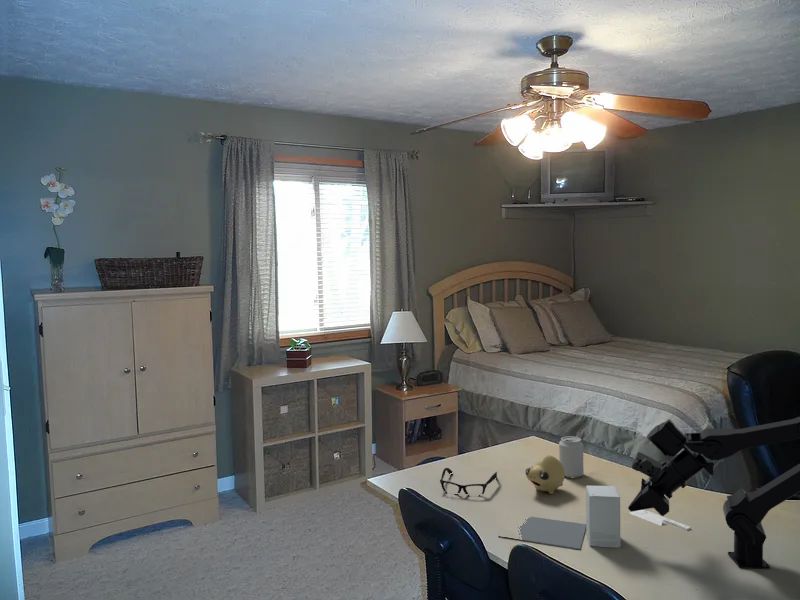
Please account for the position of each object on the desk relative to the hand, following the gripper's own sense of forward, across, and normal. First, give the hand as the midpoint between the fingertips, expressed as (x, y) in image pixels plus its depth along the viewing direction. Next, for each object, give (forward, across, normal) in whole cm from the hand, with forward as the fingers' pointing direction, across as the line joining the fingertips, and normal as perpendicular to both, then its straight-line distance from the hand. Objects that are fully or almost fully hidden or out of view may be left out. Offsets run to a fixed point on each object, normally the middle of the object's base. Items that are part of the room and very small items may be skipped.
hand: (629, 509), depth 145 cm
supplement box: (+11, 0, +2) cm, 11 cm away
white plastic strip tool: (+2, -16, +11) cm, 19 cm away
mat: (+21, 0, -9) cm, 23 cm away
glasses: (+40, -24, -27) cm, 54 cm away
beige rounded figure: (+24, -27, -11) cm, 37 cm away
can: (+20, -43, -7) cm, 48 cm away
